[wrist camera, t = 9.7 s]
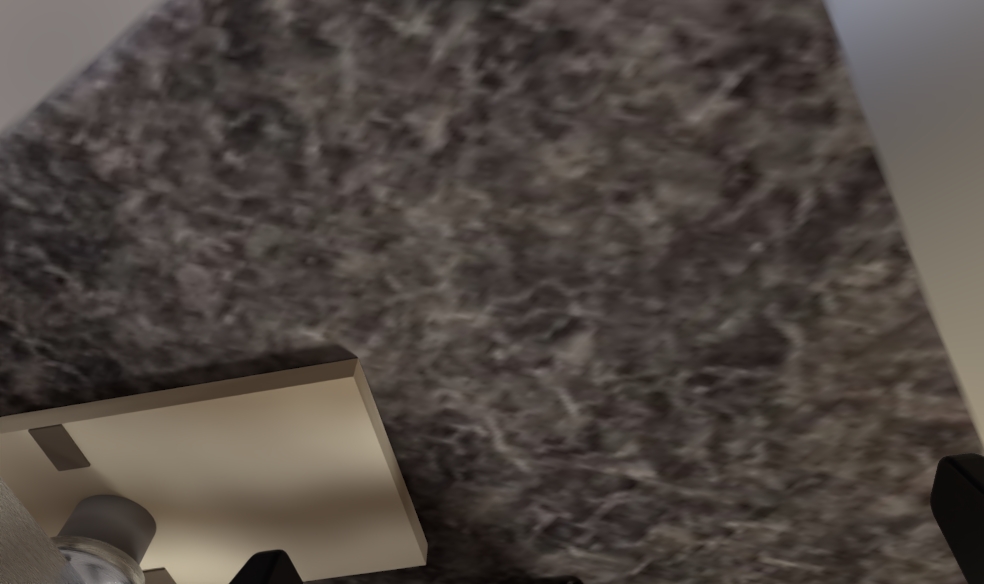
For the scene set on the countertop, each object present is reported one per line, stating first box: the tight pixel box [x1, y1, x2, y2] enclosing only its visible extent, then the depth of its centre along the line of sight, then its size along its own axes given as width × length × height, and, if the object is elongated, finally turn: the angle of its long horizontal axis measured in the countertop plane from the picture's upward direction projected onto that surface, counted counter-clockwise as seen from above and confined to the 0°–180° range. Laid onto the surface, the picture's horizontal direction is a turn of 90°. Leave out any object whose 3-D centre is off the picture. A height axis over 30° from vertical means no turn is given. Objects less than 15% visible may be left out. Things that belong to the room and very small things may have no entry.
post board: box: [0, 358, 428, 584], centre depth 25 cm, size 10×22×3 cm, turn 101°
